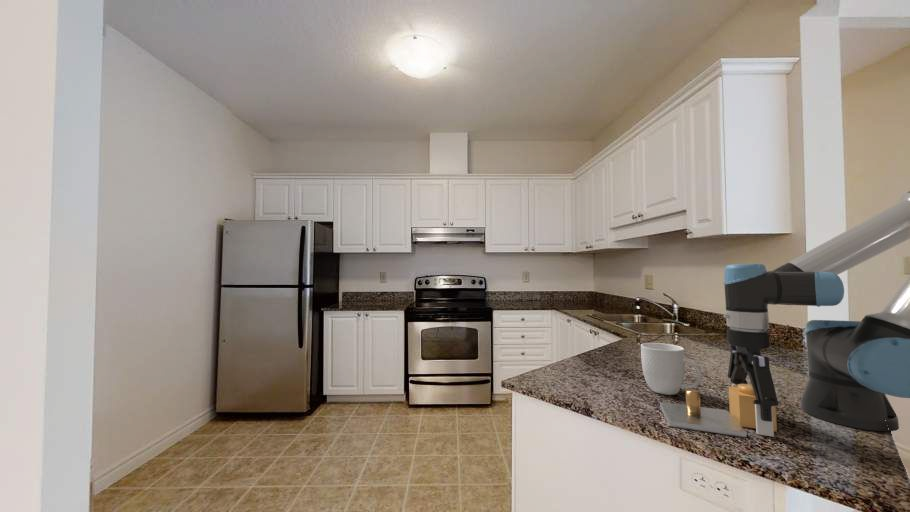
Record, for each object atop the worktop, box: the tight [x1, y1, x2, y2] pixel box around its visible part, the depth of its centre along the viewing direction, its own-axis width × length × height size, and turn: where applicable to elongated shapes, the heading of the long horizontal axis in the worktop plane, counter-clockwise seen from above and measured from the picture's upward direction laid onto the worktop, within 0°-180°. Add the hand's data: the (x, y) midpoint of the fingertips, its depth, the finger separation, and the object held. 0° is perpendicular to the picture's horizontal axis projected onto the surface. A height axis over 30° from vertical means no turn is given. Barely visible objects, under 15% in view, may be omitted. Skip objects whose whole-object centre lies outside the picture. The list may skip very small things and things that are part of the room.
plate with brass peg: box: [659, 388, 748, 438], centre depth 79 cm, size 14×12×7 cm
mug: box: [640, 342, 703, 396], centre depth 97 cm, size 15×11×13 cm
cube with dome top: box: [728, 383, 778, 432], centre depth 77 cm, size 6×6×8 cm
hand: (751, 422), depth 77 cm, fingers open, 12 cm apart
